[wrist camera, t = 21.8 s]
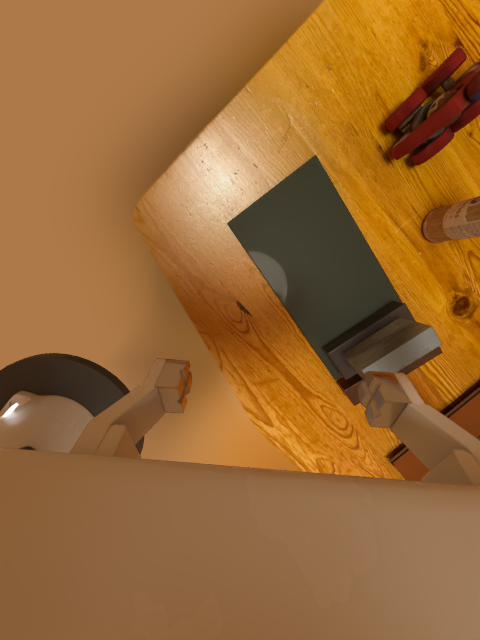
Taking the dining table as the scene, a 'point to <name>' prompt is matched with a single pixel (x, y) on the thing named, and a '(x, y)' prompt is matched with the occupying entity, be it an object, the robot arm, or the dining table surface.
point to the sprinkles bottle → (453, 221)
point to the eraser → (382, 343)
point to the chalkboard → (314, 256)
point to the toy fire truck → (437, 110)
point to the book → (470, 414)
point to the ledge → (353, 383)
